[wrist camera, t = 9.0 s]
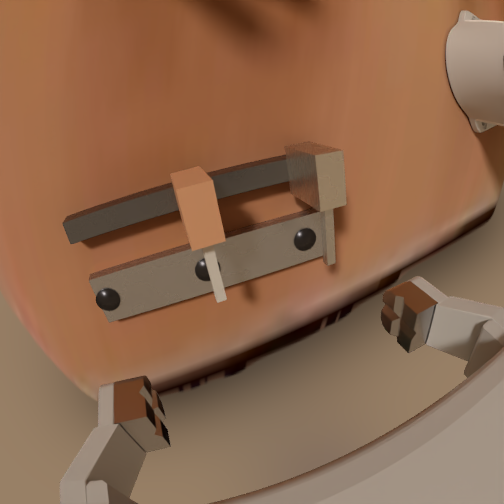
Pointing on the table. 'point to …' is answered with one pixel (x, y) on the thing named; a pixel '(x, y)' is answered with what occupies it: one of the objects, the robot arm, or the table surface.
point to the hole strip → (195, 270)
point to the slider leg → (201, 219)
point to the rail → (235, 192)
